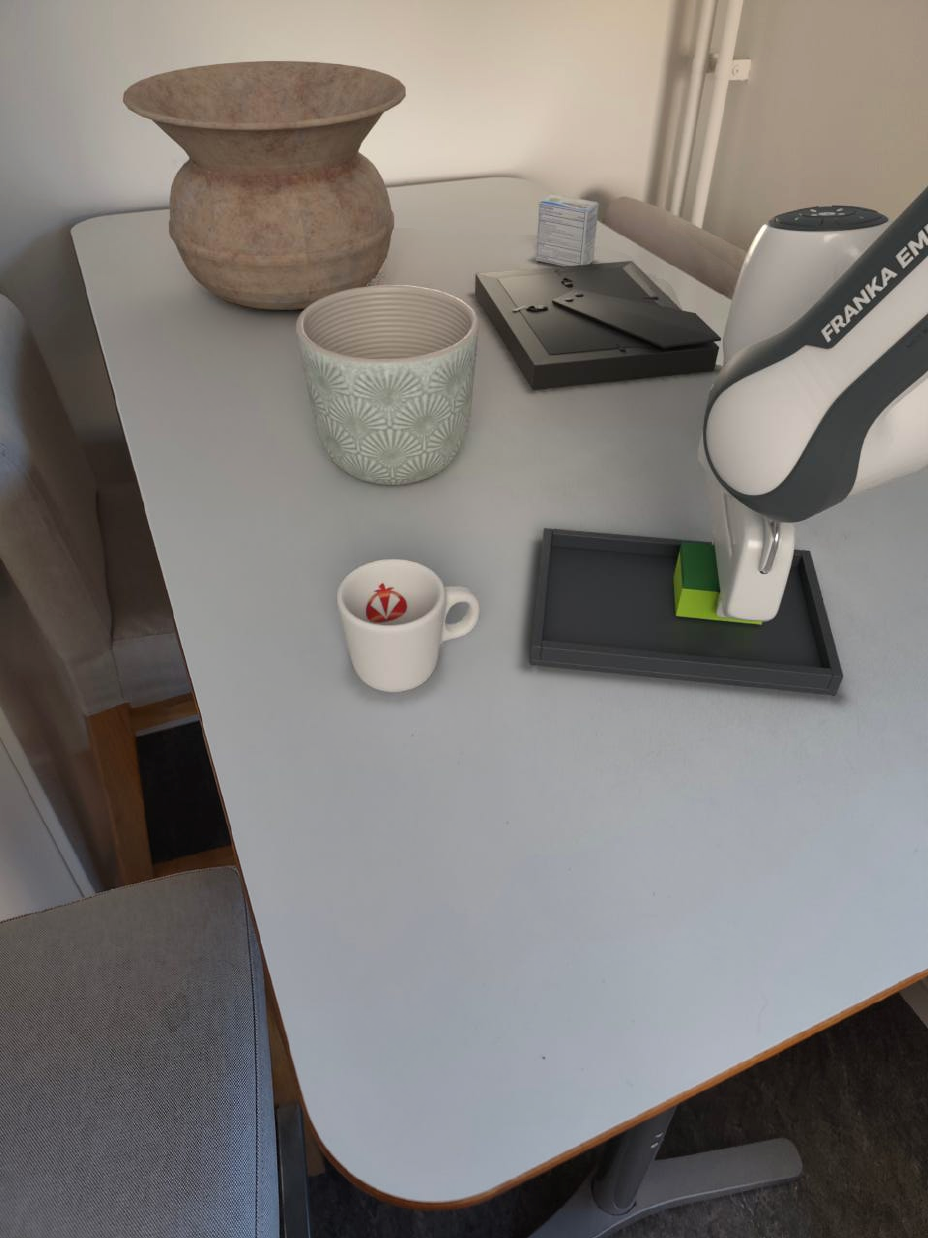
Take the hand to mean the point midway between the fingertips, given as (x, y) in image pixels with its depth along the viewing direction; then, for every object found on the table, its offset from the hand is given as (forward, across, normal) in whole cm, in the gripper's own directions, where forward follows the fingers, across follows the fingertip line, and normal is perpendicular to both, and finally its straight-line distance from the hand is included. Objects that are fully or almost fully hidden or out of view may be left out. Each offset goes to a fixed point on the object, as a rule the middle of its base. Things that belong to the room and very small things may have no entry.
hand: (722, 586), depth 72 cm
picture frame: (+3, +54, +13) cm, 55 cm away
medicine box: (+3, +78, +17) cm, 79 cm away
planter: (+3, +18, +32) cm, 37 cm away
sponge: (+2, 0, 0) cm, 2 cm away
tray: (+2, -1, +4) cm, 4 cm away
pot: (+3, +60, +55) cm, 81 cm away
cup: (+3, -10, +24) cm, 27 cm away
